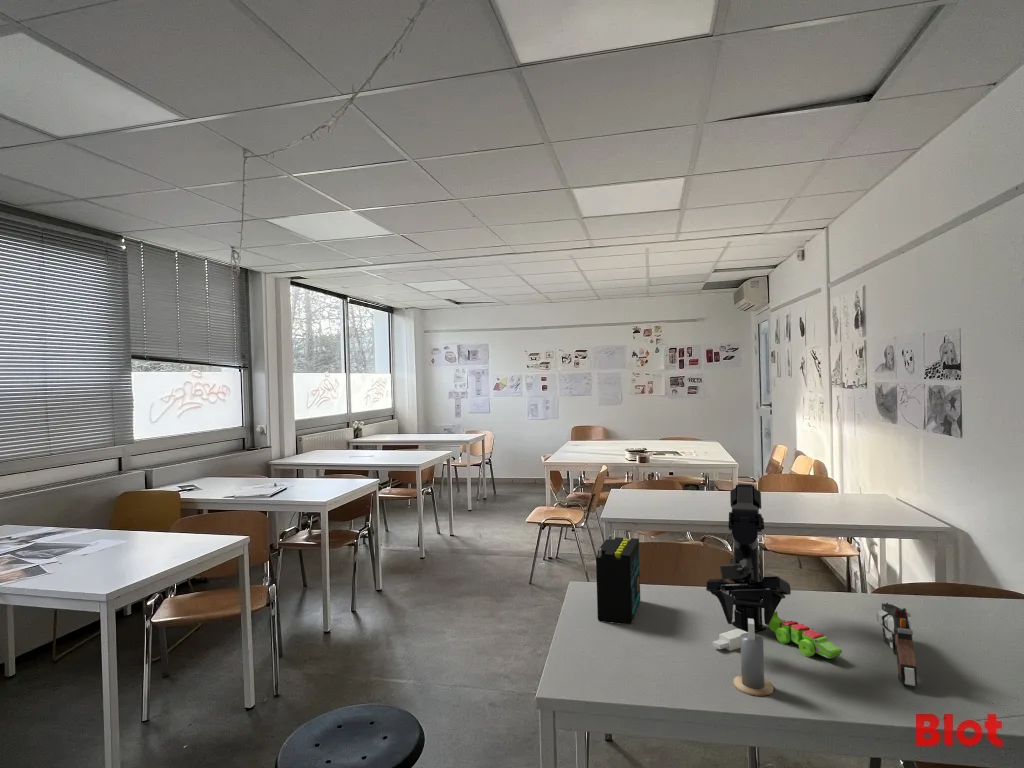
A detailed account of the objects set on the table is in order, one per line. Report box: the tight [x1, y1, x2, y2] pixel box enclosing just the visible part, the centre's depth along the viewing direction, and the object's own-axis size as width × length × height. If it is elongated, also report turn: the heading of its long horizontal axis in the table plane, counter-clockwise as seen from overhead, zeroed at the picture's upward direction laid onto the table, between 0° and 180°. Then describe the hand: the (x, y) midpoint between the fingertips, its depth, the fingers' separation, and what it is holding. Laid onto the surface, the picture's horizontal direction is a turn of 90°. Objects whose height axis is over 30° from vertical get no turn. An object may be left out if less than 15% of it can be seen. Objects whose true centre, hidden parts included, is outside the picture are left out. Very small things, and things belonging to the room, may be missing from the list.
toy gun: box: [876, 602, 918, 687], centre depth 135 cm, size 5×28×15 cm, turn 155°
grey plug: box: [740, 618, 765, 689], centre depth 126 cm, size 5×5×14 cm
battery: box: [595, 534, 641, 625], centre depth 171 cm, size 19×10×20 cm, turn 160°
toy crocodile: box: [767, 610, 843, 659], centre depth 144 cm, size 20×7×6 cm, turn 18°
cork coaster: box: [733, 674, 775, 697], centre depth 125 cm, size 8×8×1 cm
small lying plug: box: [711, 628, 748, 652], centre depth 145 cm, size 10×4×3 cm, turn 118°
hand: (747, 624), depth 135 cm, fingers open, 9 cm apart
